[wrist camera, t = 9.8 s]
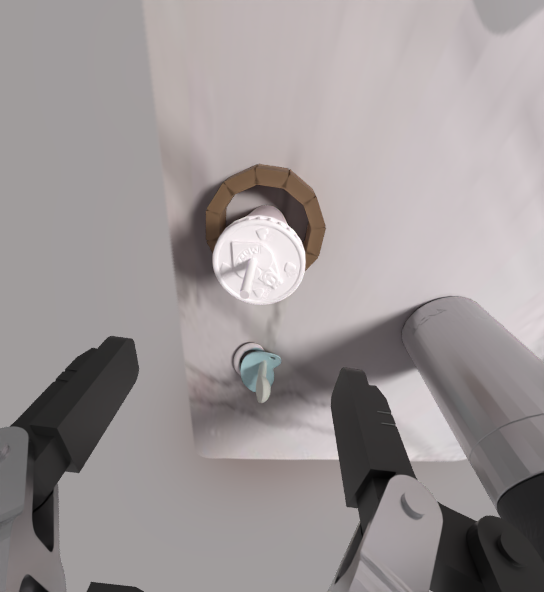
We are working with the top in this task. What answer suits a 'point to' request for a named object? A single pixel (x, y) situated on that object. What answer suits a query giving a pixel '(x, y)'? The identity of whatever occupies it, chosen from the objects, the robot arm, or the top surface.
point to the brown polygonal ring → (273, 179)
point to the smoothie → (259, 257)
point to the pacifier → (256, 369)
